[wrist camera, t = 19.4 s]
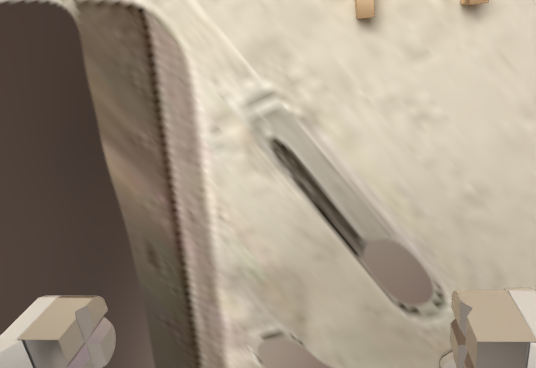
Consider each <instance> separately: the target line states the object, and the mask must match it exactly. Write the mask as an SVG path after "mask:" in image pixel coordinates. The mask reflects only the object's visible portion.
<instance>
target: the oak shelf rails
mask: <svg viewBox="0 0 536 368" xmlns="http://www.w3.org/2000/svg"><path fill="white" fill-rule="evenodd" d="M488 2H489V0H461V4H466V5H472V4H480V3H488ZM355 6H356V18H357V19H360V18H368V17H374V0H355Z"/></svg>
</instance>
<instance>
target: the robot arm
mask: <svg viewBox="0 0 536 368" xmlns="http://www.w3.org/2000/svg"><path fill="white" fill-rule="evenodd" d="M451 307H452V310H453V312H454V315H455V318H456V319H455V320H454V321H453V322H452V323H451V346H452V352H450V353H449V354H447V355H445V356H444V357H443V358H442V359H441V361H440V367H441V368H536V291H535V290H533V289H532V288H512V289H504V290H465V291H453V295H452V305H451ZM107 310H108V309H107V306H106V304H105V301H104V299H103V298H101V297H99V296H43V297H40V298H38V299H37V300H36V301H35V302H34V303H33V304H32V305H31V306H30V307H29V308H28V309H27V310H26V311H25V312H24V313H23V314H22V315H21V316H20V317H19V318H18V319H17V320H16V321H15V322H14V323H13V324H12V325H11V326H10V327H9V328H8V329H7V330H6V331H5V332H4V333H3V334H2V335H1V336H0V368H102V367H104V366H105V365H107V363H108V361H109V360H110V358H111V356H112V355H113V351H114V347H115V342H116V341H115V331H114V328H113V325H112V324H111V323H110V322H109V321H108V320H107V319H106V318H105V315H106V313H107Z"/></svg>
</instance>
